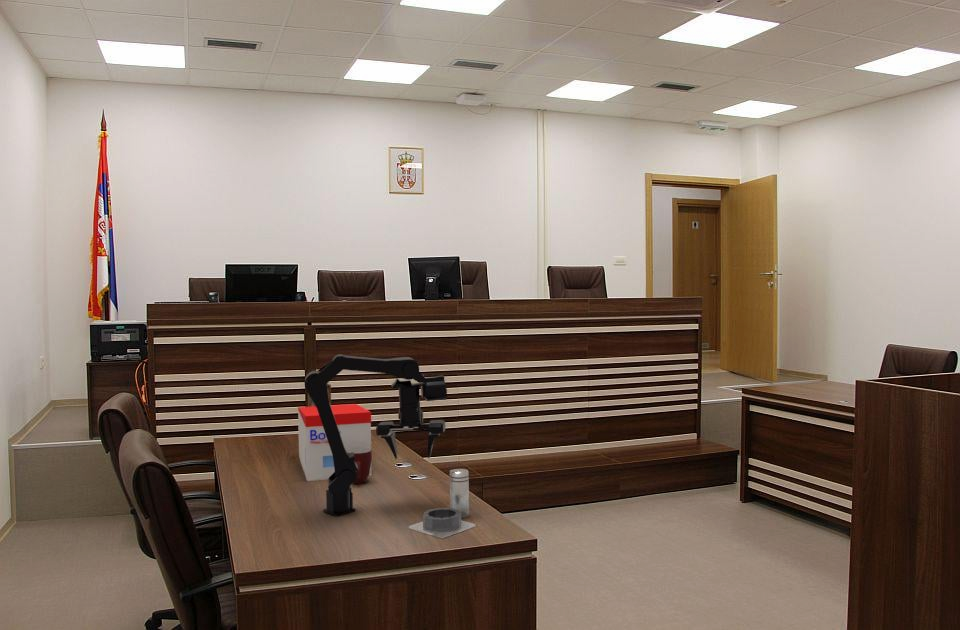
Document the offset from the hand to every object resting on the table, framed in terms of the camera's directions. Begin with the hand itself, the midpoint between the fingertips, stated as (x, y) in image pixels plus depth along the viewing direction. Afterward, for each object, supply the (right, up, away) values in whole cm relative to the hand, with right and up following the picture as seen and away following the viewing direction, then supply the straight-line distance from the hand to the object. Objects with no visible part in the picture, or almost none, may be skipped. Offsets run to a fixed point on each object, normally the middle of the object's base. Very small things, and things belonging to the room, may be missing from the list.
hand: (412, 458), depth 209 cm
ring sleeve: (+9, -14, -18) cm, 25 cm away
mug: (-19, -13, +25) cm, 34 cm away
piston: (+13, -14, -8) cm, 21 cm away
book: (-41, -11, +75) cm, 86 cm away
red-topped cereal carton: (-31, -12, +48) cm, 59 cm away
